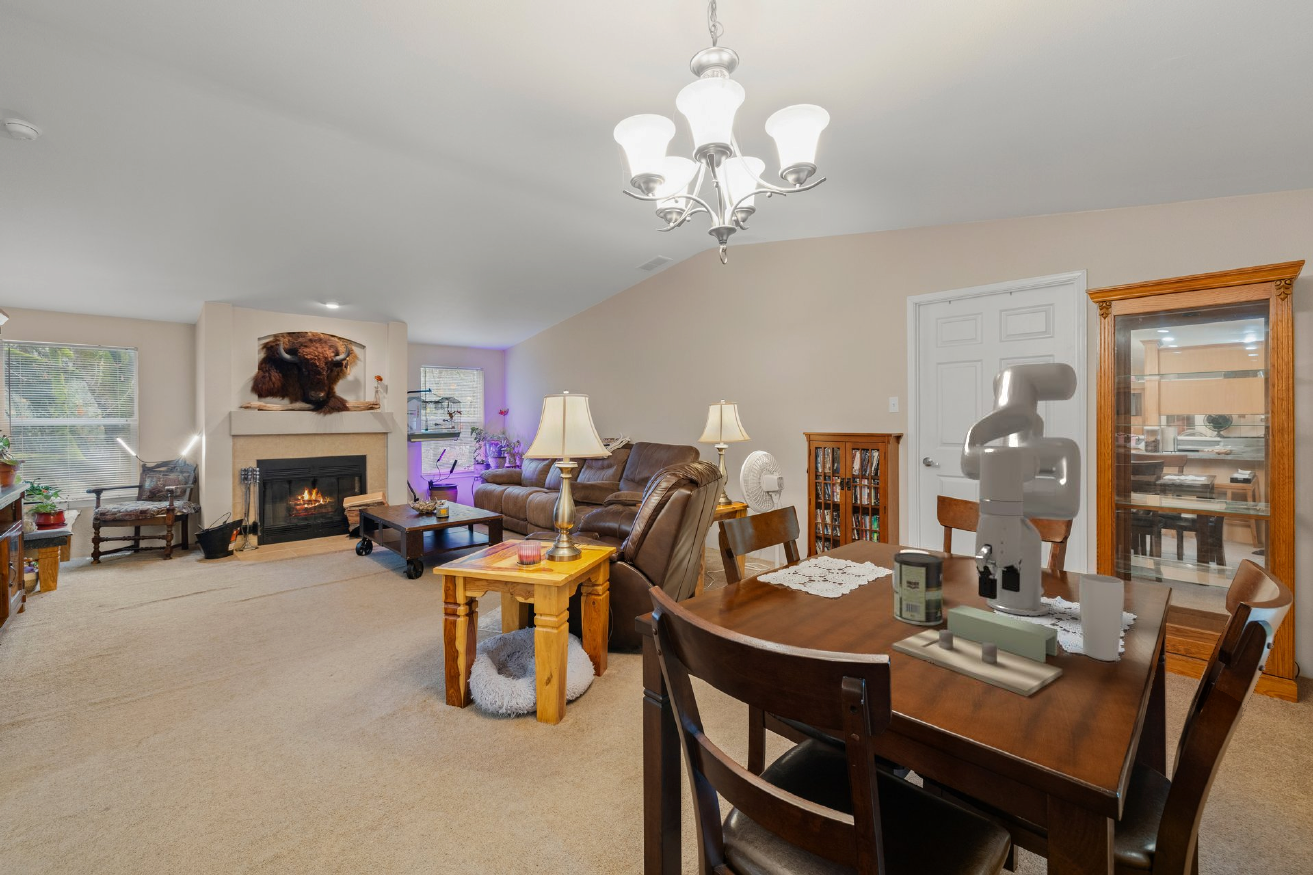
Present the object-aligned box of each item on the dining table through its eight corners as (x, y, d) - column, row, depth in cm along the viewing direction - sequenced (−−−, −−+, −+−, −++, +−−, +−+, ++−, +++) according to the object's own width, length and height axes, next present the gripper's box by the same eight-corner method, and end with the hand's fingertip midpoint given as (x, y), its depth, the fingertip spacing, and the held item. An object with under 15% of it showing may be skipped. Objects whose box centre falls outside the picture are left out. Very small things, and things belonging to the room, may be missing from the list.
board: (930, 633, 120) (930, 614, 120) (1061, 674, 100) (1062, 652, 100) (892, 648, 112) (892, 628, 112) (1026, 696, 92) (1026, 672, 92)
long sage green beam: (961, 627, 123) (962, 604, 123) (1057, 655, 108) (1057, 629, 108) (947, 633, 120) (947, 610, 120) (1043, 662, 105) (1043, 636, 105)
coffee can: (935, 612, 133) (935, 552, 133) (948, 627, 123) (949, 563, 123) (889, 609, 136) (889, 551, 135) (898, 624, 125) (899, 561, 125)
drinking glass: (1113, 651, 110) (1115, 575, 109) (1130, 665, 103) (1131, 584, 103) (1072, 647, 112) (1073, 572, 112) (1086, 660, 106) (1087, 581, 105)
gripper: (1000, 504, 121) (999, 584, 121) (959, 509, 111) (958, 595, 111) (1040, 508, 115) (1039, 592, 115) (1000, 513, 105) (998, 605, 105)
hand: (999, 594), depth 113 cm, fingers open, 9 cm apart
